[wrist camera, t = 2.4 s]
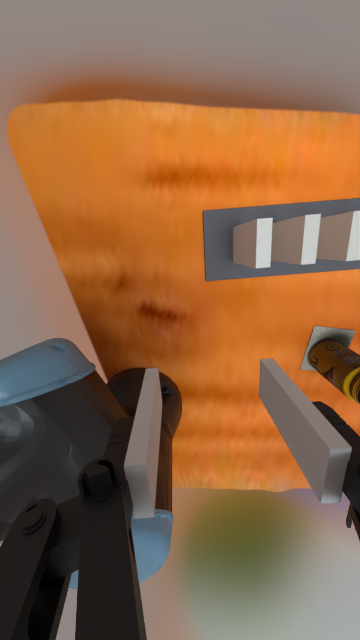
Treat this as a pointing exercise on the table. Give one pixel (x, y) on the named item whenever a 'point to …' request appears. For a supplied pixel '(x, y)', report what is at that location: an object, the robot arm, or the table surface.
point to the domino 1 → (253, 243)
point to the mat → (224, 220)
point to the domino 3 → (339, 237)
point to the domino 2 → (296, 240)
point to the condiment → (334, 359)
